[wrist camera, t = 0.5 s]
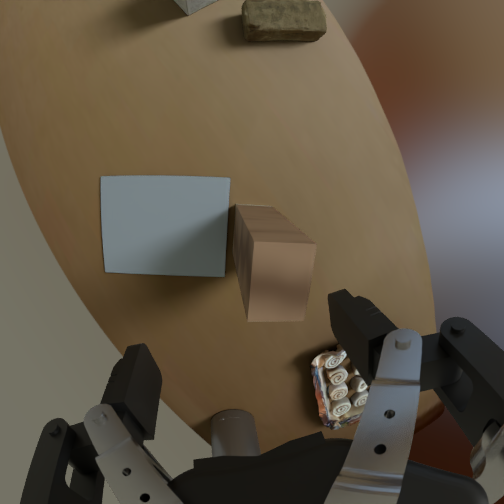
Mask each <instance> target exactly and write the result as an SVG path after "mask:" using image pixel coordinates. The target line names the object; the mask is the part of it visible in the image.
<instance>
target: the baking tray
mask: <svg viewBox="0 0 504 504" xmlns="http://www.w3.org/2000/svg"><path fill="white" fill-rule="evenodd" d="M346 355H347V354H346V353H345V351H344V350H343V348H342V347H341V345H340V344H338V345H337V350H336V352H334V351H331V352H328V350H325V351H324V352H322V353H321V354H320V355H318V356H317V357H315V358H314V361H313V362H312V363H311V366H310V367H311V368H312V369H311V371H313V372H312V373H311V374H312V376H313V377H314V378H313V384H314V386H315V395H316V398H317V400H318V405H319V412H320V414H319V416H321V420H322V421H323V424H324V425H325V426H327V427H330V429H331V430H332V429H334V430H335V429H338V428H340V427H342V428H343V427H345V426H349V425H352V424H355V423H356V422H359V421H360V419H361V416H362V413H363V410H364V407H365V403H366V400H367V397H368V391H367V390H365V389H366V388H367V385H366V383H365V382H364V380H363V379H362V377H361V376H360V374H359V372H358V371H357V369H356V368H355V366H354V365H353V363H351V369H352V371H353V373H354V375H358V376H354V377H353V378H352V379H351V382H350V386H351V387H352V389H353V390H355V391H356V393H355V394H353V395H352V397H351V399H350V401H351V402H352V403H353V404H352V405H351V404H350V401H349V399H348V398H347V397H344V396H346V394H347V392H348V388H347V386H346V384H345V382H344V380H345V379H346V378H347V375H348V373H347V371H346V370H345V369H344V367H343V366H341V365H339V364H340V363H341V362H342V361H343V359H344V358H345V357H346ZM323 365H324V366H325V367H326V375H327V377H328V379H329V380H330V381H331V384H330V385H329V386H328V388H326V382H325V377H324V372H323V368H322V366H323ZM369 390H370V389H369ZM328 394H329V396H330V397H331V399H332V400H334V401H333V402H332V403H329V398H328Z"/></svg>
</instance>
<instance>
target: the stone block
mask: <svg viewBox="0 0 504 504" xmlns="http://www.w3.org/2000/svg"><path fill="white" fill-rule="evenodd" d="M242 22H243V31H244V37H245V39H246V40H247V41H249V42H251V41H269V40H272V41H275V40H298V41H317V40H319V38H320V37H322V35H324V34H325V33H326V29H327V27H326V14H325V12H324V10H323V8H322V7H321V2H319V1H308V0H246V1H245V2H244V3H243V5H242Z"/></svg>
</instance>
